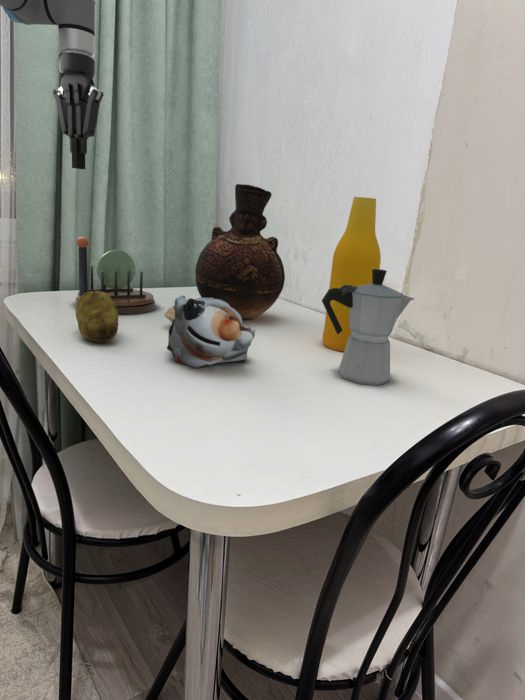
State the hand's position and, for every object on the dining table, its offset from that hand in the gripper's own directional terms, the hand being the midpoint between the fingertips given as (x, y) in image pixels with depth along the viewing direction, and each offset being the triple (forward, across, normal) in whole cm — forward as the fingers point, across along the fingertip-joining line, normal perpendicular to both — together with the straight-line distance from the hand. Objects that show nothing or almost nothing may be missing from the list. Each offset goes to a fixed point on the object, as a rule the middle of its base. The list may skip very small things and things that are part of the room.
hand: (78, 168), depth 118 cm
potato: (+31, -28, +25) cm, 48 cm away
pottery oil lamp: (+31, -38, +10) cm, 50 cm away
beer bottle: (+31, -68, -2) cm, 75 cm away
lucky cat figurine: (+31, -52, +24) cm, 65 cm away
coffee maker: (+31, -75, +15) cm, 82 cm away
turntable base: (+30, -13, +2) cm, 33 cm away
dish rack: (+29, -13, +2) cm, 31 cm away
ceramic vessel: (+31, -39, -10) cm, 51 cm away
